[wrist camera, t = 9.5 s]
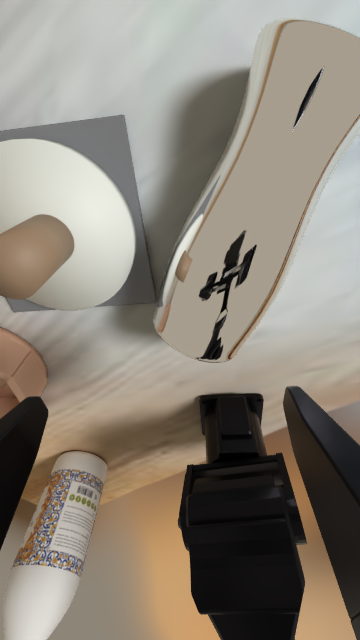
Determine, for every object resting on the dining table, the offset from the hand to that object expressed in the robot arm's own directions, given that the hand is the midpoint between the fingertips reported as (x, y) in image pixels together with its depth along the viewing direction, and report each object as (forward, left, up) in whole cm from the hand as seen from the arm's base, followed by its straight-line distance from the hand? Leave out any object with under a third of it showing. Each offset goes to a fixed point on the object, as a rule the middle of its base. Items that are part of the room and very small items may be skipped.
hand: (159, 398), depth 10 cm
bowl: (-9, +19, -12) cm, 24 cm away
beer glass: (+10, -8, -10) cm, 16 cm away
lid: (+3, +8, -12) cm, 15 cm away
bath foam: (-28, +16, -13) cm, 35 cm away
